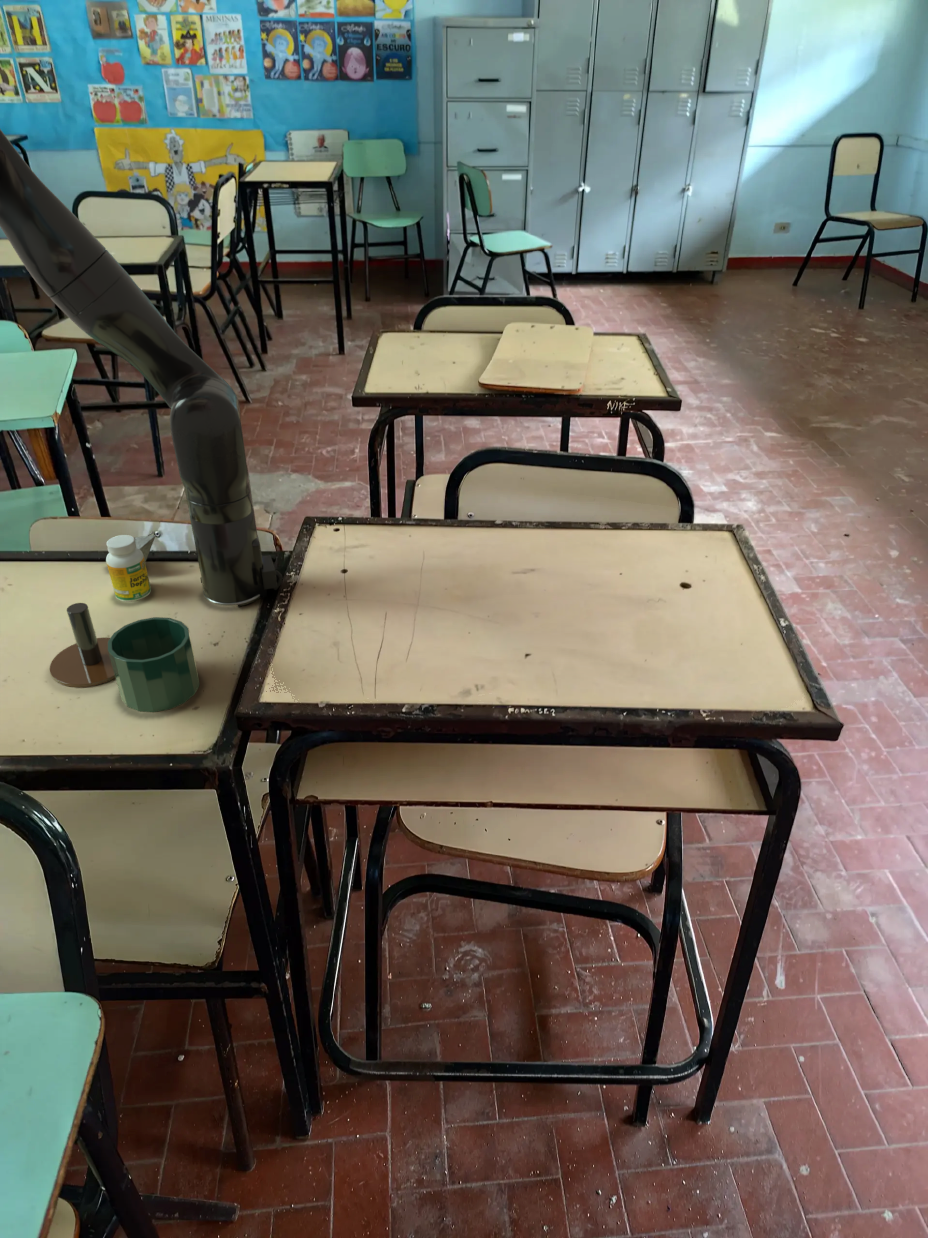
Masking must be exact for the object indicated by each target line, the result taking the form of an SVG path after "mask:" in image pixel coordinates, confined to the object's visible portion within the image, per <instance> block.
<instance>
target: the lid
mask: <svg viewBox="0 0 928 1238" xmlns="http://www.w3.org/2000/svg"><path fill="white" fill-rule="evenodd" d="M66 613H67V617H68V620H69V625H70V627H71V630H72V634H73V637H74V641H75V643H74V644H71V645H69V646H67V647H65V648H64V649H62V650H61V651H60V652H58V653H57V654H56V655H55V656H54V658H53V659H52V660H51V662H50V665H49V673H50V676H51V678H52V679H53V680H54V681H55V683H57V684H60V685H62V686H65V687H69V688H88V687H94V686H99V685H103V684H106V683H109V682H110V681H113V680H116V678H115V674H114V671H113V667H112V664H111V660H110V656H109V653H108V641H109V639H110V638H111V637H104V636H103V637H97V634H96V630H95V627H94V623H93V619H92V616H91V612H90V608H89V606H88V604H86V603H85V602H77V603H73V604H70V605H69V606H68V607H67V608H66Z"/></svg>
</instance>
